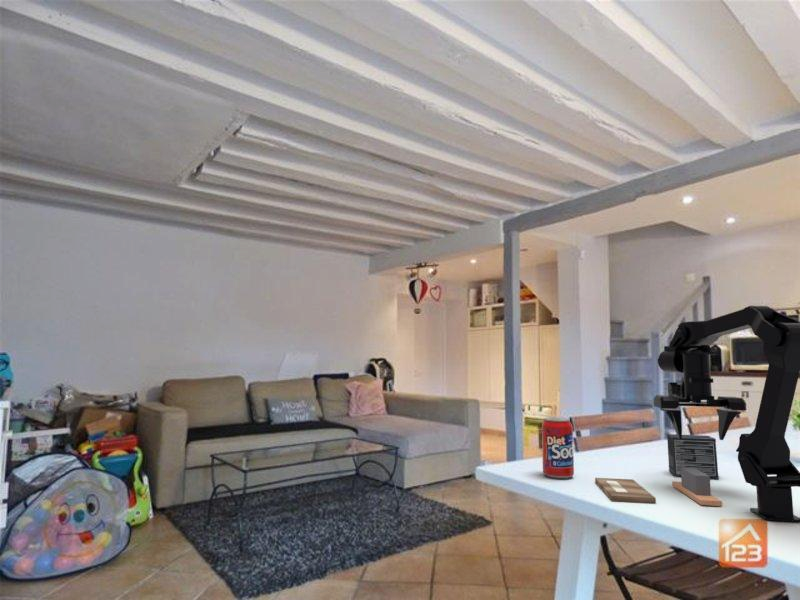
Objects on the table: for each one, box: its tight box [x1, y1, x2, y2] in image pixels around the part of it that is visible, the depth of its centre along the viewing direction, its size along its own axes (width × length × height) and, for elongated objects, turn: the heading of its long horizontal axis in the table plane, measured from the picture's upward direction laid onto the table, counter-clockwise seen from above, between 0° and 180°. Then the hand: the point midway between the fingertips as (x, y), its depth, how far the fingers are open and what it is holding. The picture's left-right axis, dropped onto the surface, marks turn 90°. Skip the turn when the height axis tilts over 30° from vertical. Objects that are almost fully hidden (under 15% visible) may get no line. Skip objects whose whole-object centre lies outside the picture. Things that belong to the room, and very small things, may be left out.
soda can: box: [541, 416, 575, 480], centre depth 131 cm, size 8×8×15 cm
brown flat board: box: [594, 477, 657, 504], centre depth 116 cm, size 16×9×1 cm, turn 171°
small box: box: [666, 433, 720, 480], centre depth 133 cm, size 11×6×10 cm, turn 74°
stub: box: [671, 467, 723, 507], centre depth 114 cm, size 16×4×5 cm, turn 171°
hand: (700, 439), depth 119 cm, fingers open, 9 cm apart
